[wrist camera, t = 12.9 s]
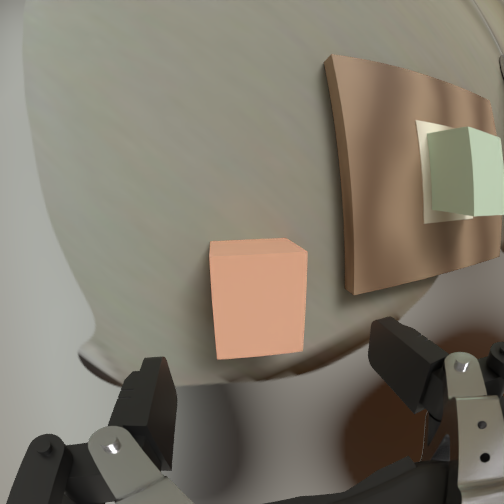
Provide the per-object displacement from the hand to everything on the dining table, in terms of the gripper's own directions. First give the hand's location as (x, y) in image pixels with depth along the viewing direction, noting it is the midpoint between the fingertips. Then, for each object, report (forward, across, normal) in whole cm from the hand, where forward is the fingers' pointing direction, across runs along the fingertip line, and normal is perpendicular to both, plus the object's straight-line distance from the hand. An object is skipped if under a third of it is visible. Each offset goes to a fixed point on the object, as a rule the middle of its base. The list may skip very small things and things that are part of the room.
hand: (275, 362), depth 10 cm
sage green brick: (+8, -17, -7) cm, 20 cm away
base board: (+9, -17, -7) cm, 21 cm away
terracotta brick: (+10, 0, 0) cm, 10 cm away
